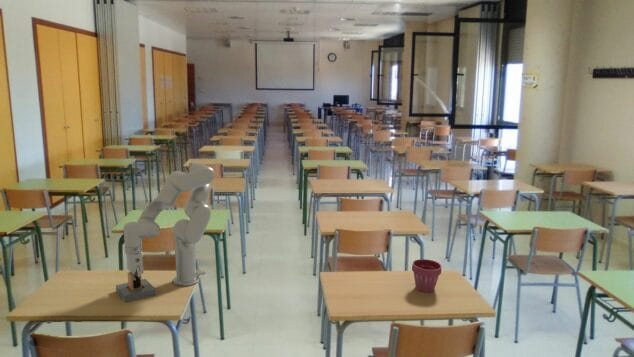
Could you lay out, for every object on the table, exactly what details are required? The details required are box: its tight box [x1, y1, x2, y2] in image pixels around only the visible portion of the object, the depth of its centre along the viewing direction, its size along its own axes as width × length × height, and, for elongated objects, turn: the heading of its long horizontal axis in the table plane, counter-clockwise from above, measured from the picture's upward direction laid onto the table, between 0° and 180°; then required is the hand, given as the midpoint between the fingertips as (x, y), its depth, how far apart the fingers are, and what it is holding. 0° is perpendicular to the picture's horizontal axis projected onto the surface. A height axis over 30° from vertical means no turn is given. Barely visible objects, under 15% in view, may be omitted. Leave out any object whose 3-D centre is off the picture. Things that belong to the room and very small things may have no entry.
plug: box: [127, 271, 143, 291], centre depth 239 cm, size 5×4×9 cm
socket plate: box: [115, 278, 157, 303], centre depth 240 cm, size 14×14×3 cm
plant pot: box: [411, 258, 443, 293], centre depth 253 cm, size 14×14×13 cm
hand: (135, 285), depth 240 cm, fingers closed on plug, 3 cm apart
